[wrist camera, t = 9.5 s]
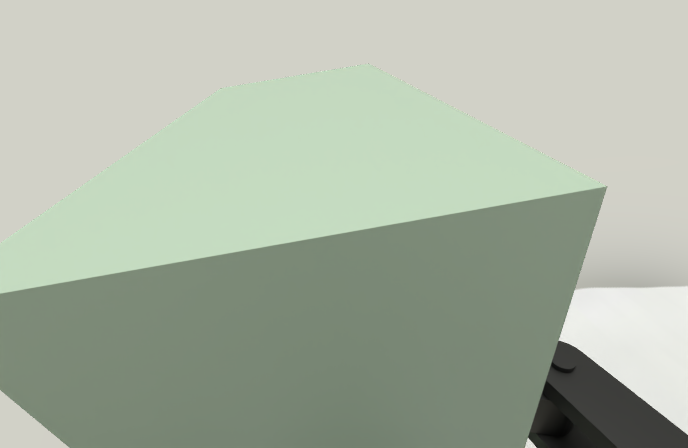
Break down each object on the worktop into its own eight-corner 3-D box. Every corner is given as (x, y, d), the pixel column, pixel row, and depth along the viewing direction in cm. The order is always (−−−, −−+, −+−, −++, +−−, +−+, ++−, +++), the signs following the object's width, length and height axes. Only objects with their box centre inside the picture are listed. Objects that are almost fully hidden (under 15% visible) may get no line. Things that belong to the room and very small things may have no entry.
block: (397, 378, 18) (368, 63, 10) (465, 634, 10) (608, 186, 2) (317, 393, 18) (221, 88, 10) (328, 662, 10) (-96, 310, 2)
